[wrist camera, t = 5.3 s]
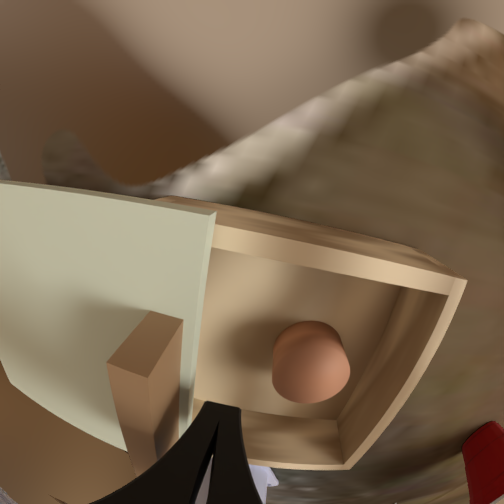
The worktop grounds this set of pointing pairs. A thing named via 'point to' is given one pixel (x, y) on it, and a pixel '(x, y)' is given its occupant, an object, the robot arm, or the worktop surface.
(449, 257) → the worktop surface
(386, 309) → the storage box
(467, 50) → the worktop surface
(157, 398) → the lid
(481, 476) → the plastic cup
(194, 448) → the robot arm
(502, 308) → the worktop surface
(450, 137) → the worktop surface
